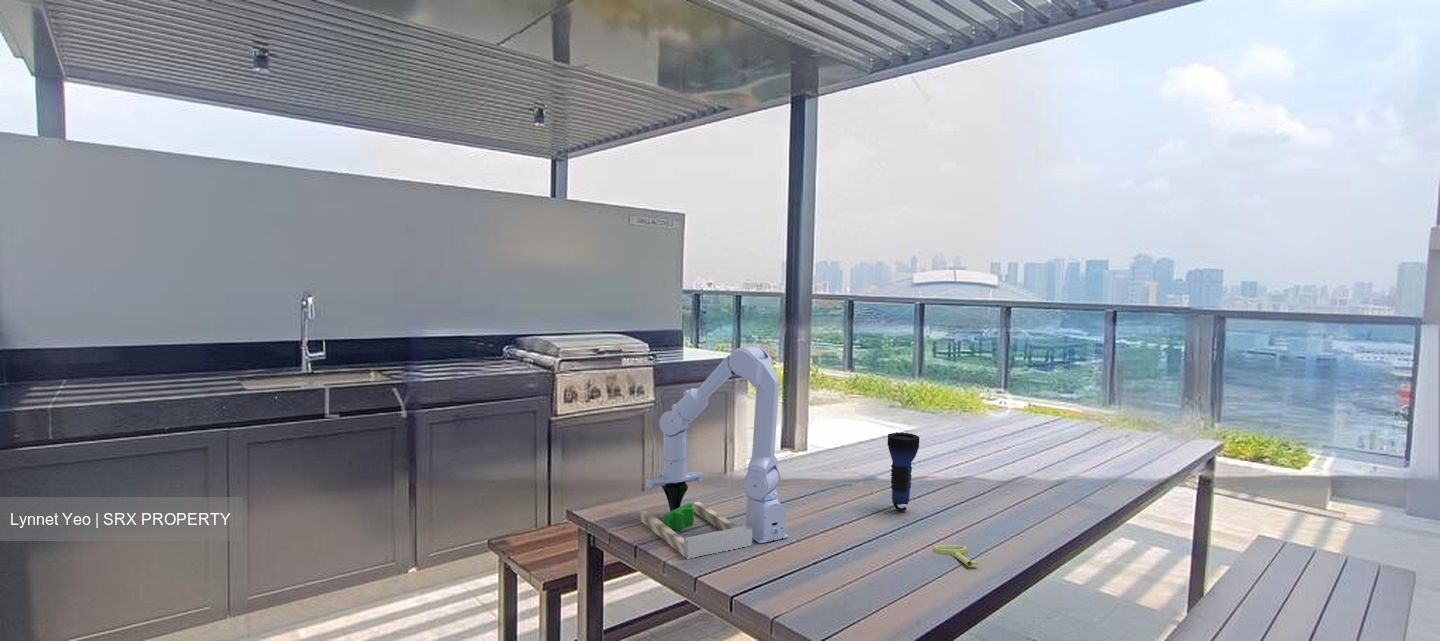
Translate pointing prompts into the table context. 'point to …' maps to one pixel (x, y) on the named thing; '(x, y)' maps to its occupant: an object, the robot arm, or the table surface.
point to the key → (955, 553)
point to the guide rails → (676, 539)
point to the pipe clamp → (679, 517)
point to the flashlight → (902, 465)
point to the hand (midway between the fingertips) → (674, 512)
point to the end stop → (717, 541)
